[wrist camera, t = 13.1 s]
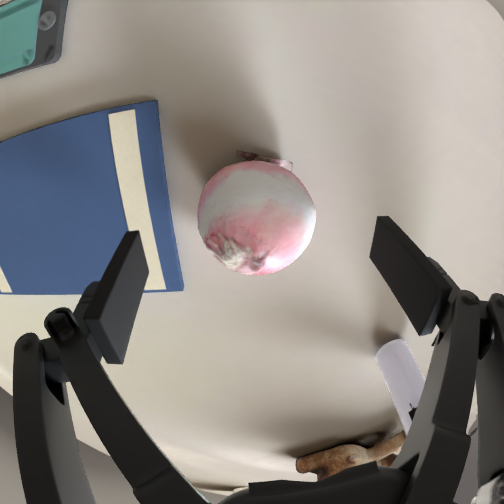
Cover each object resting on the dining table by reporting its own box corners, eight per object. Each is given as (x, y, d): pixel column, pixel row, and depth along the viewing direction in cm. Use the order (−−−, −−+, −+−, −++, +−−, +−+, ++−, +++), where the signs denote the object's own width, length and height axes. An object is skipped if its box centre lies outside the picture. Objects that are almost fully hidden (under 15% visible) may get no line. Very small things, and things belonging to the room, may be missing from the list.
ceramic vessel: (350, 510, 54) (431, 468, 51) (297, 502, 43) (412, 446, 39) (338, 477, 66) (413, 435, 62) (285, 454, 54) (386, 399, 51)
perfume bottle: (403, 354, 36) (456, 477, 19) (365, 365, 36) (412, 498, 19) (412, 326, 33) (480, 462, 16) (372, 337, 33) (432, 487, 16)
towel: (157, 99, 18) (154, 100, 17) (184, 285, 26) (183, 292, 26) (-46, 163, 17) (-52, 166, 16) (-1, 290, 25) (-5, 294, 25)
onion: (180, 188, 22) (162, 233, 16) (264, 125, 20) (282, 144, 14) (244, 259, 25) (250, 318, 19) (322, 207, 23) (354, 255, 17)
